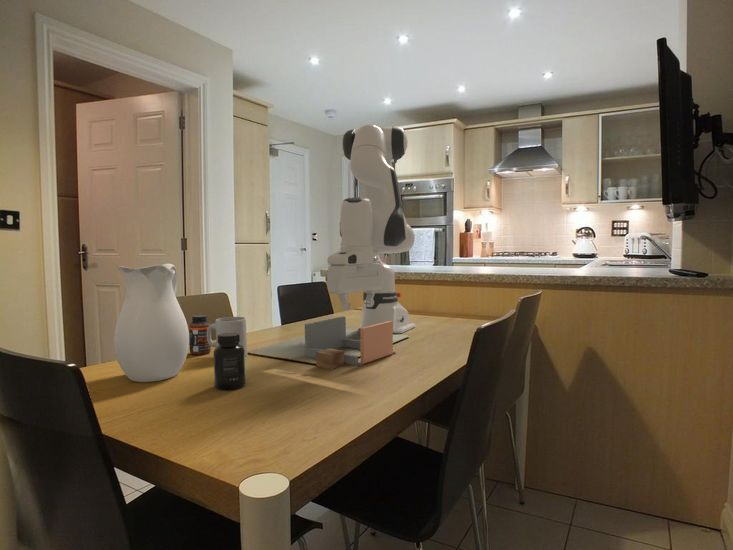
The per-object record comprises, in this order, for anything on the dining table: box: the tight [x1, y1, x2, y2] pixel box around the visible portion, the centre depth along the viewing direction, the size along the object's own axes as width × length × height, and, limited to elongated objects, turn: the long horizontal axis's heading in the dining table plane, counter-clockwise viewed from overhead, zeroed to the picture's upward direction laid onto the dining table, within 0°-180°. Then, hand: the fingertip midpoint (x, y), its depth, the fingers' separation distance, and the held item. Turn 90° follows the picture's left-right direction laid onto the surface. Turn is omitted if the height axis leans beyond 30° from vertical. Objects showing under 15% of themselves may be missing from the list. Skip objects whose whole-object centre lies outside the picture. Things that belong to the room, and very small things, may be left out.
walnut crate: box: [315, 348, 345, 370], centre depth 120 cm, size 5×5×5 cm
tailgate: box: [359, 321, 394, 365], centre depth 126 cm, size 1×13×9 cm, turn 142°
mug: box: [207, 316, 248, 358], centre depth 137 cm, size 12×8×11 cm
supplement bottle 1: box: [188, 314, 212, 356], centre depth 141 cm, size 6×6×11 cm
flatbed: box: [304, 315, 397, 367], centre depth 132 cm, size 20×16×10 cm
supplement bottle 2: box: [213, 333, 247, 391], centre depth 108 cm, size 7×7×12 cm
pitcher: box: [113, 263, 190, 383], centre depth 120 cm, size 24×17×28 cm
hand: (357, 308), depth 129 cm, fingers open, 8 cm apart
